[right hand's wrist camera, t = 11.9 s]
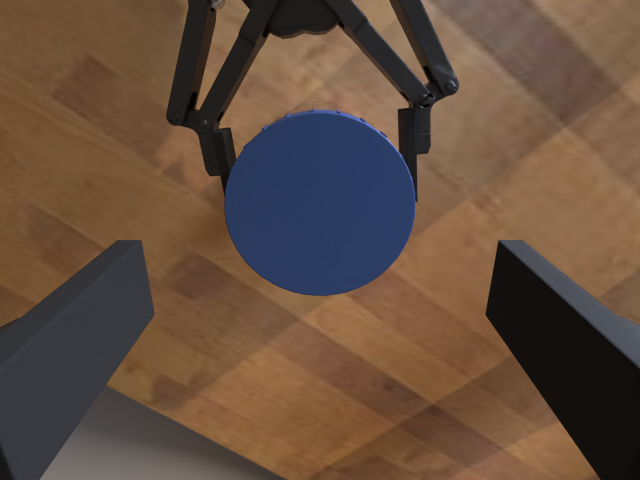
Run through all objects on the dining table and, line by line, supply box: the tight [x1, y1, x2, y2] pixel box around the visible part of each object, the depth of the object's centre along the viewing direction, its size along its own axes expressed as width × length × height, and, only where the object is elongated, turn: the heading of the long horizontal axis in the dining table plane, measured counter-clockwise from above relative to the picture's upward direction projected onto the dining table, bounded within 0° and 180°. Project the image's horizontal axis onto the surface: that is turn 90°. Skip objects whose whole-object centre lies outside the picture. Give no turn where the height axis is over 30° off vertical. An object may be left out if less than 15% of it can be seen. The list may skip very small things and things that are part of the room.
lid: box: [224, 108, 416, 296], centre depth 21 cm, size 9×9×2 cm
